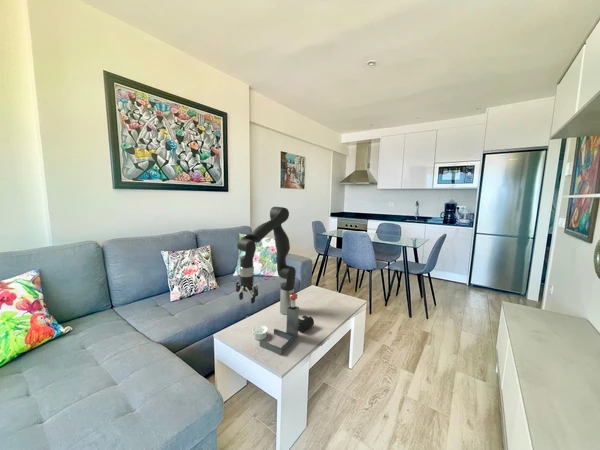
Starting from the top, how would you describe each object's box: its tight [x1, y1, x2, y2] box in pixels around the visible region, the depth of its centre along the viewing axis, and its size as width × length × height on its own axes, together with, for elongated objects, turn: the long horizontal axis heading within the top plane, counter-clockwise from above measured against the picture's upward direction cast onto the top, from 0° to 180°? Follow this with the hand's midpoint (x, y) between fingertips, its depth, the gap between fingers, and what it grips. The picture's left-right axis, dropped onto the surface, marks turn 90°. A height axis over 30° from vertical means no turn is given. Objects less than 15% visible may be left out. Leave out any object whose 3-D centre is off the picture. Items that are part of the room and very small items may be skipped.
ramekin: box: [251, 325, 269, 341], centre depth 141 cm, size 9×9×4 cm
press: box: [259, 305, 300, 356], centre depth 136 cm, size 19×14×18 cm
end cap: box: [298, 315, 315, 333], centre depth 150 cm, size 10×7×7 cm
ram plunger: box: [290, 292, 298, 310], centre depth 139 cm, size 4×4×11 cm
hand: (246, 301), depth 139 cm, fingers open, 8 cm apart
